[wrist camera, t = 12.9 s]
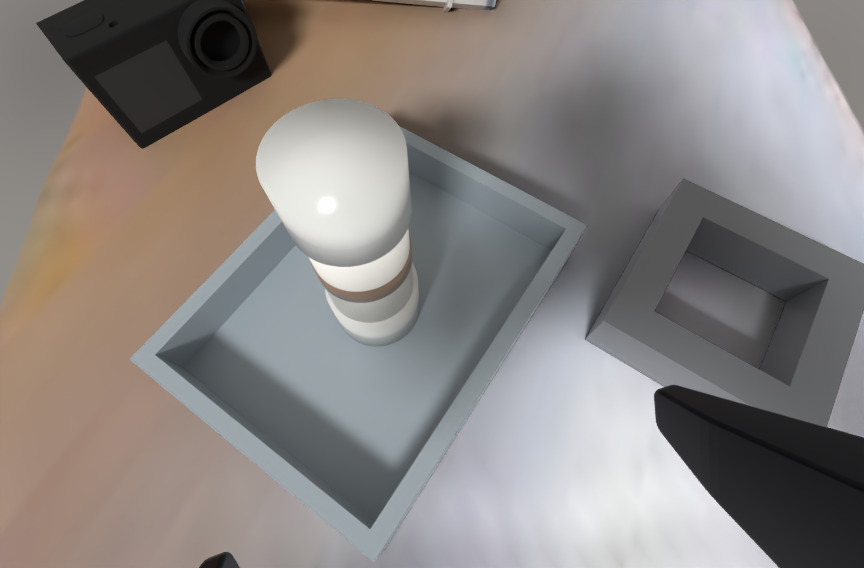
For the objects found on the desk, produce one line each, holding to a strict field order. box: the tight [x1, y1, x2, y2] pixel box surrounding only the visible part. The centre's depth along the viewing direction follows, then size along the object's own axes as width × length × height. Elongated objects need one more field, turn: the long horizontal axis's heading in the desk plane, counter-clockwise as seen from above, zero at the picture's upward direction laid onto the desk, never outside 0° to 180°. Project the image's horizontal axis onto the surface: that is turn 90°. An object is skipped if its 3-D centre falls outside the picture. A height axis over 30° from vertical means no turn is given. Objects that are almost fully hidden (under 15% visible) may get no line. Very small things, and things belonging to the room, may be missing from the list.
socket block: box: [585, 179, 864, 427], centre depth 23 cm, size 10×10×3 cm
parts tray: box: [130, 126, 587, 562], centre depth 23 cm, size 18×14×4 cm
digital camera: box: [37, 0, 271, 148], centre depth 29 cm, size 10×5×7 cm, turn 131°
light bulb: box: [256, 98, 420, 346], centre depth 19 cm, size 4×4×12 cm
